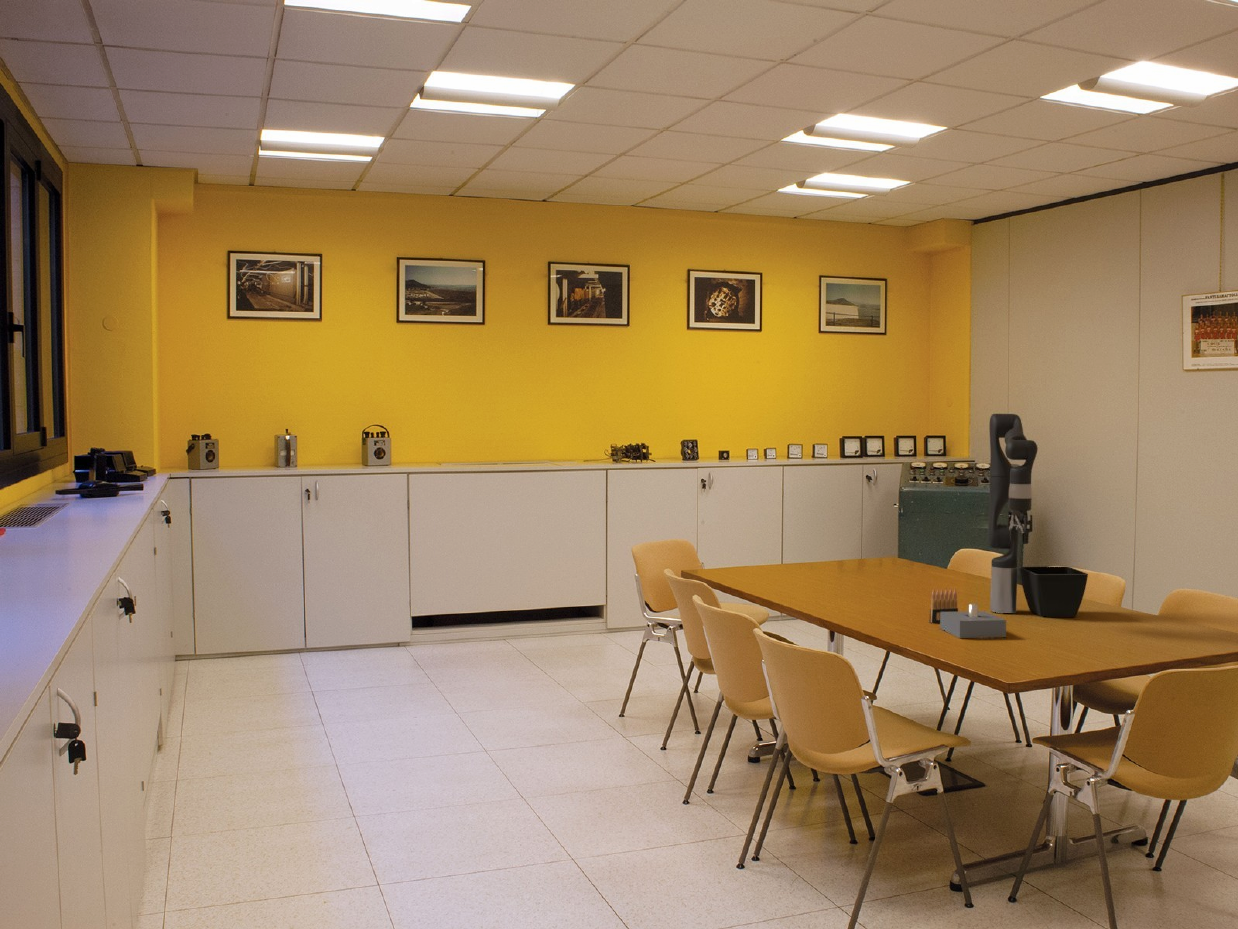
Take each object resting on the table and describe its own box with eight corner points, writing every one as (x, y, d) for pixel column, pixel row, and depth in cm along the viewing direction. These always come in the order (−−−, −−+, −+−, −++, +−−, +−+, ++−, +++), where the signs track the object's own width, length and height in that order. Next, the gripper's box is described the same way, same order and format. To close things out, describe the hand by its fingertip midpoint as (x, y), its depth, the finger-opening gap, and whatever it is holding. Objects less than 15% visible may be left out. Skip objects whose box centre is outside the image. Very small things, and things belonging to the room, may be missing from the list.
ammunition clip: (932, 623, 366) (932, 590, 366) (929, 622, 368) (929, 589, 368) (958, 622, 369) (959, 589, 369) (955, 621, 371) (956, 588, 370)
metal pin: (966, 632, 351) (967, 603, 351) (974, 632, 351) (975, 603, 351) (970, 634, 348) (970, 605, 348) (978, 634, 348) (979, 605, 348)
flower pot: (1035, 619, 376) (1036, 573, 375) (1017, 609, 395) (1018, 566, 394) (1088, 619, 375) (1089, 574, 375) (1067, 610, 394) (1068, 566, 394)
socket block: (940, 629, 357) (940, 611, 357) (984, 628, 359) (984, 611, 358) (959, 638, 341) (960, 620, 341) (1005, 638, 343) (1006, 620, 343)
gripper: (1040, 498, 356) (1039, 544, 357) (1020, 494, 370) (1019, 539, 371) (1019, 498, 355) (1018, 545, 356) (1000, 494, 369) (999, 539, 370)
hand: (1019, 542), depth 363 cm, fingers open, 8 cm apart
